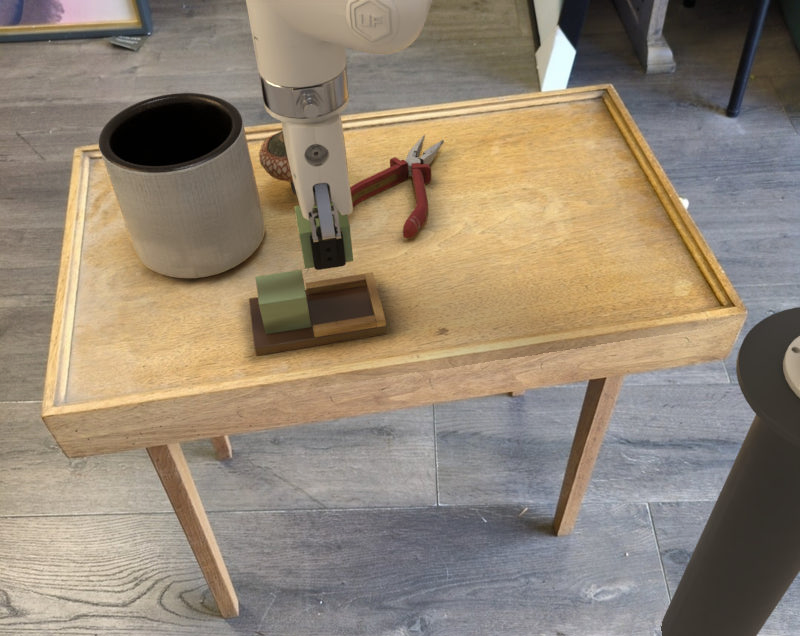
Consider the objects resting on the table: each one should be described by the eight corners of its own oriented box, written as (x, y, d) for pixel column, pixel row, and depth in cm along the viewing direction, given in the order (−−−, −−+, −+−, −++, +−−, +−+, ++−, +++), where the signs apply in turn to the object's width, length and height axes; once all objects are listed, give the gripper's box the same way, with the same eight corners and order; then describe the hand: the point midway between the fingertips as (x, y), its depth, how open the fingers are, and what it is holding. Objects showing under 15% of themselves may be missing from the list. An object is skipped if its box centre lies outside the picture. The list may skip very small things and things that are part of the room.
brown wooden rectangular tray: (387, 334, 91) (384, 295, 87) (256, 355, 90) (246, 318, 86) (374, 286, 96) (371, 247, 92) (250, 306, 95) (241, 267, 91)
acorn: (296, 166, 112) (285, 98, 105) (342, 188, 109) (334, 119, 101) (253, 196, 108) (238, 128, 101) (299, 220, 105) (288, 150, 97)
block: (300, 241, 87) (294, 205, 84) (347, 234, 88) (343, 198, 85) (305, 268, 85) (299, 233, 81) (353, 261, 85) (350, 226, 82)
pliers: (473, 154, 112) (473, 137, 110) (413, 244, 101) (413, 227, 99) (395, 138, 116) (394, 121, 114) (329, 223, 104) (327, 206, 102)
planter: (121, 227, 106) (80, 116, 94) (239, 187, 110) (214, 76, 98) (159, 302, 96) (119, 189, 84) (287, 255, 101) (265, 142, 89)
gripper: (363, 132, 67) (376, 299, 81) (334, 34, 78) (350, 196, 92) (270, 145, 66) (299, 311, 80) (254, 44, 77) (282, 206, 91)
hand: (326, 248), depth 86 cm, fingers closed on block, 4 cm apart
